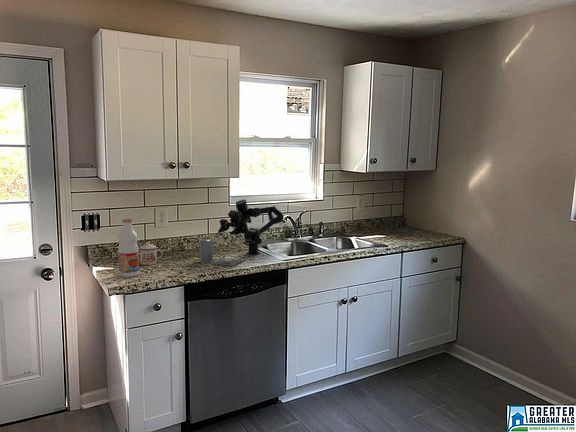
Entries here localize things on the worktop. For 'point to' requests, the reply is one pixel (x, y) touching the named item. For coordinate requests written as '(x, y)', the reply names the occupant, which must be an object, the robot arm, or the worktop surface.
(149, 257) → the teacup with lid
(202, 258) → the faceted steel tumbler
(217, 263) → the rubber mat
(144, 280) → the worktop surface
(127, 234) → the fruit juice
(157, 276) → the worktop surface
